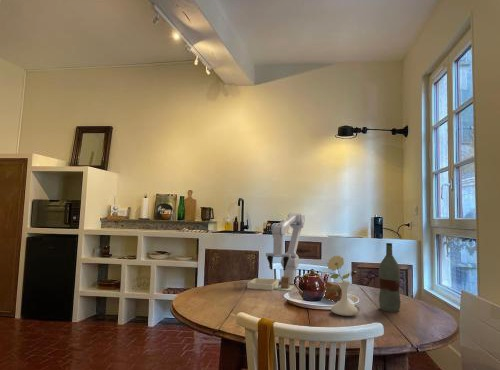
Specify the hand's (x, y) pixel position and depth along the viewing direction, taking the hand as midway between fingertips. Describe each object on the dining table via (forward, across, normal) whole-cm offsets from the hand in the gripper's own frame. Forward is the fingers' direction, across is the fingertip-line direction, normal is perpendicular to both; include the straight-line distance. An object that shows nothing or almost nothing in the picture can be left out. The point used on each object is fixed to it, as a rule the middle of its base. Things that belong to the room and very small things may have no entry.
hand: (277, 269), depth 212 cm
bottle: (+10, +59, -29) cm, 67 cm away
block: (+10, +5, -2) cm, 11 cm away
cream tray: (+10, -8, -2) cm, 13 cm away
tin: (+10, +32, -20) cm, 39 cm away
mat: (+10, +5, -2) cm, 11 cm away
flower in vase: (+10, +39, -45) cm, 60 cm away
